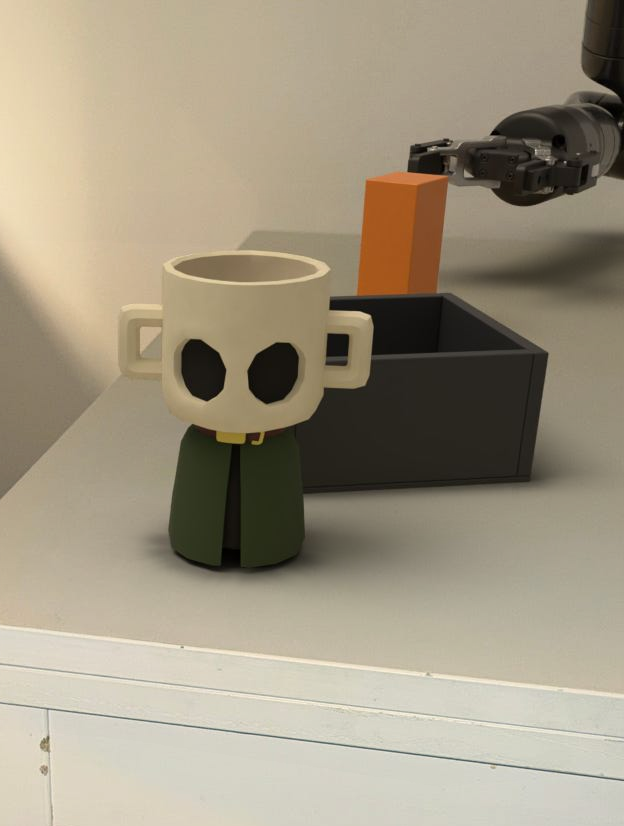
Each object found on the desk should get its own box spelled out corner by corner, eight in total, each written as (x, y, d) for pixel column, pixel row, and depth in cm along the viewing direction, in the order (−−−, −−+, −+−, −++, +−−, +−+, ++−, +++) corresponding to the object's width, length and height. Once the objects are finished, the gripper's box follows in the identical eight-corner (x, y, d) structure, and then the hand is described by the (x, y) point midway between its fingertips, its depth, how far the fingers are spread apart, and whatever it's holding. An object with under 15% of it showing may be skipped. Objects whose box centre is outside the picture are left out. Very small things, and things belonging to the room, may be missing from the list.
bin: (438, 409, 80) (451, 292, 77) (529, 486, 68) (549, 352, 65) (221, 418, 78) (224, 299, 75) (276, 500, 66) (283, 362, 63)
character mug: (106, 576, 58) (103, 279, 52) (130, 516, 64) (129, 245, 58) (354, 591, 57) (380, 288, 51) (354, 528, 63) (376, 252, 57)
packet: (384, 323, 99) (397, 171, 94) (432, 331, 97) (449, 176, 92) (353, 336, 96) (365, 179, 91) (402, 345, 94) (418, 184, 89)
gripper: (471, 101, 113) (384, 116, 101) (636, 111, 105) (564, 130, 94) (461, 192, 116) (376, 217, 105) (620, 208, 109) (548, 237, 97)
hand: (465, 176), depth 99 cm, fingers open, 8 cm apart
